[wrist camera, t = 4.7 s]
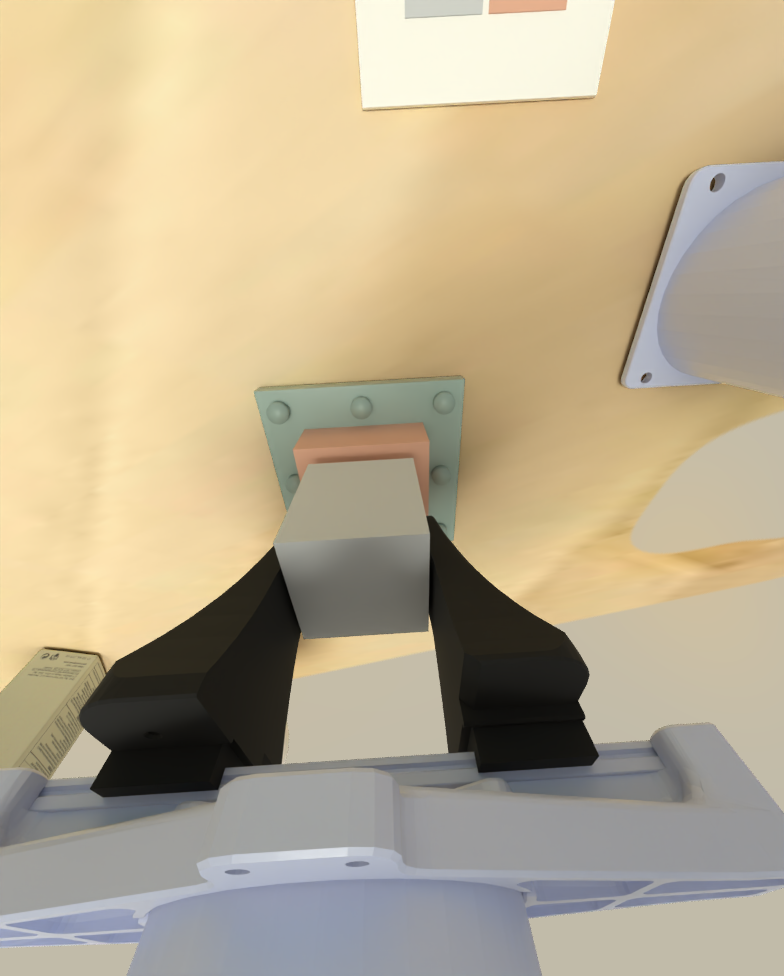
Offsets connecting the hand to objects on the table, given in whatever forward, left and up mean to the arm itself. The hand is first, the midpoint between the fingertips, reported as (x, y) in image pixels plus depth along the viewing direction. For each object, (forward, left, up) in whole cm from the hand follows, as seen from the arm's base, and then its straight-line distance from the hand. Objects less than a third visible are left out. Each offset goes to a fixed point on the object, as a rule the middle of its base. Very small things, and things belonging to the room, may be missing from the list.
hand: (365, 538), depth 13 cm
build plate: (0, 0, -6) cm, 6 cm away
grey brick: (0, 0, -2) cm, 2 cm away
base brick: (0, 0, -5) cm, 5 cm away
